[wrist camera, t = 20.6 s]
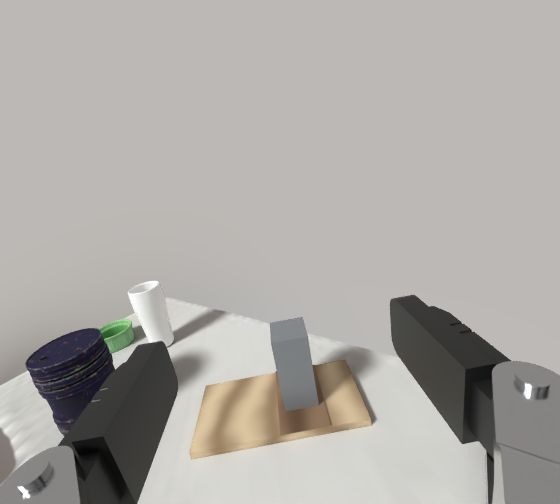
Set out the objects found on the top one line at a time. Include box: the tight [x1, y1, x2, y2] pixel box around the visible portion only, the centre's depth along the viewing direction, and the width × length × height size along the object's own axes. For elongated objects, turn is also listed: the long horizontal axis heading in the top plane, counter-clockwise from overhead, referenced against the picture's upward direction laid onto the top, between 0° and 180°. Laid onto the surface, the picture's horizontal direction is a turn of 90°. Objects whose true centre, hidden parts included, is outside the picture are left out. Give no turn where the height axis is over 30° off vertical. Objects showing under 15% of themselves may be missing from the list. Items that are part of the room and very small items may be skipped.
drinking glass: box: [128, 281, 174, 347], centre depth 64 cm, size 7×7×15 cm
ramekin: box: [99, 319, 134, 353], centre depth 69 cm, size 9×9×4 cm
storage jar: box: [25, 328, 115, 437], centre depth 45 cm, size 10×10×15 cm
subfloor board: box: [189, 360, 371, 459], centre depth 43 cm, size 25×12×1 cm, turn 94°
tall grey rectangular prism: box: [270, 317, 319, 412], centre depth 42 cm, size 5×5×12 cm
